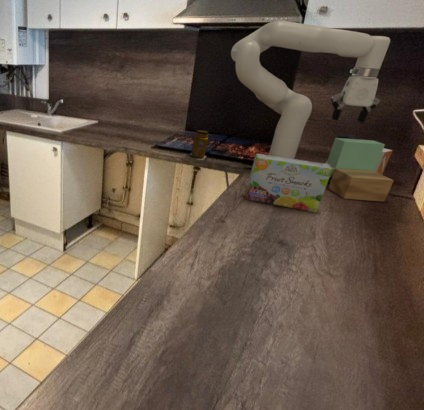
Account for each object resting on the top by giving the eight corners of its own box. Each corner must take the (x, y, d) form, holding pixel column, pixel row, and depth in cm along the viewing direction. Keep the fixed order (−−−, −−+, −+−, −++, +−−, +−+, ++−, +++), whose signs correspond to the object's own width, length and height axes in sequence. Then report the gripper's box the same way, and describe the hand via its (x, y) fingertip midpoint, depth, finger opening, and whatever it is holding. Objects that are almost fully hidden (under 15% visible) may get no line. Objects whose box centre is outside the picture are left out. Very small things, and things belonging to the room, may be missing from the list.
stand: (328, 188, 135) (335, 168, 132) (366, 191, 135) (374, 171, 131) (343, 198, 126) (351, 177, 123) (384, 201, 126) (393, 180, 122)
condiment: (206, 156, 166) (211, 131, 162) (202, 160, 160) (208, 134, 155) (190, 153, 170) (195, 128, 165) (186, 157, 163) (191, 131, 158)
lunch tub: (335, 168, 132) (318, 159, 143) (374, 171, 131) (354, 162, 142) (345, 140, 128) (327, 133, 139) (385, 142, 127) (364, 135, 138)
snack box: (245, 200, 120) (256, 156, 113) (244, 194, 124) (255, 152, 118) (317, 213, 113) (333, 167, 107) (313, 206, 118) (329, 163, 111)
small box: (372, 183, 144) (385, 152, 138) (354, 178, 148) (366, 148, 143) (380, 180, 148) (393, 149, 142) (363, 175, 152) (374, 146, 147)
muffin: (314, 174, 151) (319, 158, 148) (325, 173, 152) (331, 157, 150) (326, 179, 145) (332, 162, 143) (338, 178, 147) (344, 162, 144)
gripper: (346, 72, 127) (330, 120, 134) (396, 76, 127) (377, 124, 134) (334, 71, 134) (319, 117, 141) (382, 74, 133) (364, 120, 141)
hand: (347, 120), depth 137 cm, fingers open, 9 cm apart
